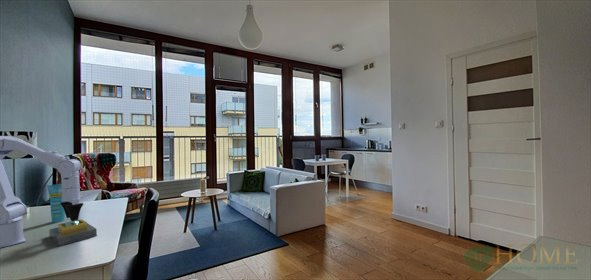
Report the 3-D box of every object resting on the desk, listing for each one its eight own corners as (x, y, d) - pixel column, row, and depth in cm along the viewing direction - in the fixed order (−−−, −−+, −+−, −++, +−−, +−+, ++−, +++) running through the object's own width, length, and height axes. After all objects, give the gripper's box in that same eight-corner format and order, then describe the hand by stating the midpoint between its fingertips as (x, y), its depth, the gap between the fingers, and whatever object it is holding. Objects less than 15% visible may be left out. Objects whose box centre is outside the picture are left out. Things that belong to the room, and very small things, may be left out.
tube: (47, 223, 126) (45, 185, 126) (50, 221, 130) (48, 184, 130) (67, 220, 130) (65, 183, 130) (69, 218, 134) (67, 182, 134)
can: (67, 239, 105) (66, 224, 105) (64, 236, 108) (64, 222, 108) (80, 235, 108) (80, 221, 108) (78, 233, 111) (77, 220, 111)
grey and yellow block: (58, 246, 98) (58, 232, 98) (49, 236, 109) (49, 223, 109) (96, 235, 107) (96, 223, 107) (84, 227, 118) (84, 216, 118)
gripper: (87, 187, 107) (88, 219, 107) (78, 184, 115) (79, 213, 116) (65, 190, 101) (66, 224, 101) (57, 187, 110) (58, 218, 110)
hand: (72, 218), depth 108 cm, fingers open, 7 cm apart
